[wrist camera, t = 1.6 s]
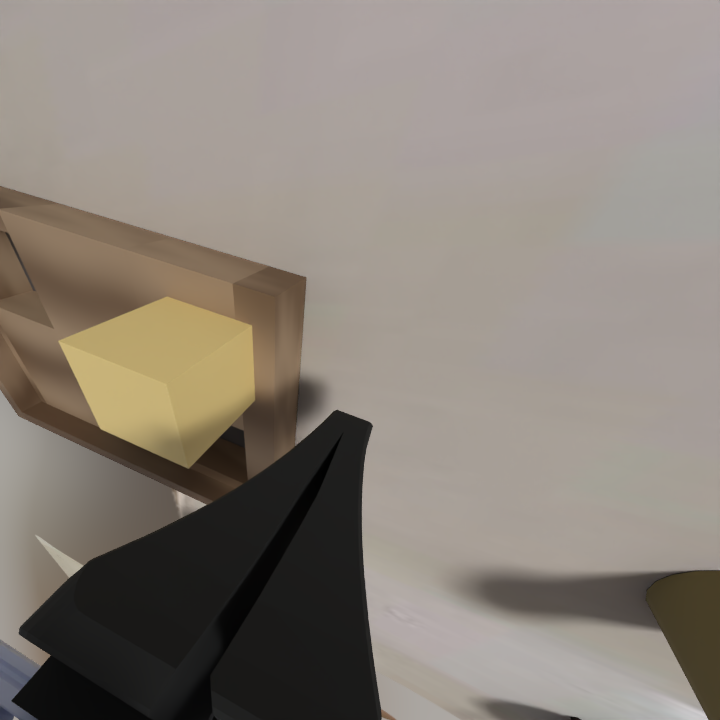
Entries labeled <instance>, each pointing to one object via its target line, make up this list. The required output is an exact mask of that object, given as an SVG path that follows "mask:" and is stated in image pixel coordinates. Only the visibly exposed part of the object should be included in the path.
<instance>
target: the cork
mask: <svg viewBox="0 0 720 720" xmlns="http://www.w3.org/2000/svg"><path fill="white" fill-rule="evenodd" d="M646 601H647V603H648V605H649V607H650V609H651V611H652V613H653V615H654V617H655V618H656V620H657V622H658V624H659V626H660V628H661V630H662V632H663V634H664V636H665V638H666V639H667V641H668V643H669V645H670V647H671V649H672V651H673V653H674V655H675V657H676V659H677V660H678V662H679V664H680V666H681V668H682V670H683V672H684V674H685V676H686V678H687V679H688V681H689V683H690V685H691V687H692V689H693V691H694V693H695V695H696V697H697V699H698V700H699V702H700V704H701V706H702V708H703V710H704V712H705V714H706V716H707V718H708V720H720V571H693V572H687V573H680V574H674V575H671V576H668V577H666V578H663V579H661V580H658V581H656V582H655V583H654V584H653V585H652V586H651V587H650V588H649V589H648V590H647V594H646Z"/></svg>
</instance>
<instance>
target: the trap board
mask: <svg viewBox="0 0 720 720" xmlns="http://www.w3.org/2000/svg"><path fill="white" fill-rule="evenodd" d="M305 290H306V277H303V276H299V275H296V274H293V273H289V272H286V271H283V270H279V269H276V268H273V267H269V266H266V265H263V264H259V263H256V262H253V261H249V260H246V259H242V258H239V257H236V256H232V255H229V254H226V253H222V252H219V251H216V250H212V249H209V248H206V247H202V246H199V245H196V244H192V243H189V242H186V241H182V240H179V239H176V238H172V237H169V236H165V235H162V234H159V233H155V232H152V231H149V230H145V229H142V228H139V227H135V226H132V225H129V224H125V223H122V222H119V221H115V220H112V219H109V218H105V217H102V216H98V215H95V214H92V213H88V212H85V211H82V210H78V209H75V208H72V207H68V206H65V205H62V204H58V203H55V202H52V201H48V200H45V199H42V198H38V197H35V196H32V195H28V194H25V193H21V192H18V191H15V190H11V189H8V188H5V187H1V186H0V390H1V391H2V393H3V394H4V395H5V397H6V398H7V400H8V401H9V403H10V404H11V406H12V407H13V409H14V410H15V412H16V413H17V414H18V416H20V417H22V418H24V419H26V420H28V421H30V422H32V423H34V424H36V425H39V426H41V427H43V428H45V429H47V430H49V431H51V432H53V433H56V434H58V435H60V436H62V437H64V438H66V439H68V440H71V441H73V442H75V443H77V444H79V445H81V446H83V447H85V448H88V449H90V450H92V451H94V452H96V453H98V454H100V455H103V456H105V457H107V458H109V459H111V460H113V461H115V462H118V463H120V464H122V465H124V466H126V467H128V468H130V469H133V470H134V471H137V472H139V473H141V474H143V475H145V476H147V477H150V478H152V479H154V480H156V481H158V482H160V483H162V484H164V485H167V486H169V487H171V488H173V489H175V490H177V491H179V492H181V493H183V494H186V495H188V496H190V497H192V498H194V499H196V500H198V501H201V502H203V503H205V504H207V505H208V504H209V503H211V502H213V501H215V500H216V499H218V498H220V497H222V496H223V495H225V494H227V493H228V492H230V491H232V490H234V489H235V488H237V487H238V486H240V485H242V484H243V483H245V482H246V481H248V480H249V479H251V478H252V477H254V476H255V475H257V474H258V473H260V472H261V471H263V470H264V469H266V468H267V467H269V466H270V465H271V464H273V463H274V462H275V461H277V460H278V459H279V458H281V457H282V456H283V455H285V454H286V453H287V452H289V451H290V450H291V449H292V448H294V447H295V435H296V420H297V406H298V391H299V377H300V362H301V348H302V333H303V319H304V304H305ZM165 297H170V298H173V299H176V300H179V301H182V302H185V303H188V304H190V305H193V306H196V307H199V308H202V309H205V310H208V311H211V312H214V313H217V314H220V315H223V316H226V317H229V318H232V319H235V320H238V321H240V322H243V323H246V324H249V325H252V336H253V360H254V384H255V401H254V402H253V403H252V404H251V405H250V406H249V407H248V408H247V409H246V410H245V411H244V412H243V413H242V414H241V415H240V417H239V418H238V419H237V420H236V421H235V422H234V423H233V424H232V425H231V426H230V427H229V428H228V429H227V430H226V431H225V432H224V433H223V434H222V435H221V436H220V437H219V438H218V439H217V440H216V441H215V442H214V443H213V444H212V445H211V446H210V447H209V448H208V449H207V450H206V451H205V453H204V454H203V455H202V456H201V457H200V458H199V459H198V460H197V461H196V462H195V463H194V464H193V465H192V466H191V467H190V468H189V469H188V468H186V467H183V466H181V465H179V464H177V463H174V462H172V461H170V460H168V459H166V458H163V457H161V456H159V455H157V454H155V453H152V452H150V451H148V450H146V449H143V448H141V447H139V446H137V445H135V444H132V443H130V442H128V441H126V440H123V439H121V438H119V437H117V436H115V435H112V434H110V433H108V432H106V431H104V430H101V429H100V427H99V425H98V423H97V421H96V419H95V417H94V415H93V412H92V410H91V408H90V406H89V404H88V402H87V400H86V398H85V396H84V394H83V392H82V389H81V387H80V385H79V383H78V381H77V379H76V377H75V375H74V373H73V371H72V369H71V367H70V364H69V362H68V360H67V358H66V356H65V354H64V352H63V350H62V348H61V346H60V344H59V342H58V341H59V340H61V339H64V338H66V337H69V336H71V335H74V334H76V333H79V332H81V331H84V330H86V329H88V328H91V327H93V326H96V325H98V324H101V323H103V322H106V321H108V320H111V319H113V318H115V317H118V316H120V315H123V314H125V313H128V312H130V311H133V310H135V309H138V308H140V307H143V306H145V305H147V304H150V303H152V302H155V301H157V300H160V299H162V298H165Z"/></svg>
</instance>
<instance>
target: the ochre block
mask: <svg viewBox="0 0 720 720" xmlns="http://www.w3.org/2000/svg"><path fill="white" fill-rule="evenodd" d="M58 342H59V344H60V346H61V348H62V350H63V352H64V354H65V356H66V358H67V360H68V362H69V364H70V367H71V369H72V371H73V373H74V375H75V377H76V379H77V381H78V383H79V385H80V387H81V389H82V392H83V394H84V396H85V398H86V400H87V402H88V404H89V406H90V408H91V410H92V412H93V415H94V417H95V419H96V421H97V423H98V425H99V427H100V429H101V430H104V431H106V432H108V433H110V434H112V435H115V436H117V437H119V438H121V439H123V440H126V441H128V442H130V443H132V444H135V445H137V446H139V447H141V448H143V449H146V450H148V451H150V452H152V453H155V454H157V455H159V456H161V457H163V458H166V459H168V460H170V461H172V462H174V463H177V464H179V465H181V466H183V467H186V468H188V469H189V468H190V467H191V466H192V465H193V464H194V463H195V462H196V461H197V460H198V459H199V458H200V457H201V456H202V455H203V454H204V453H205V451H206V450H207V449H208V448H209V447H210V446H211V445H212V444H213V443H214V442H215V441H216V440H217V439H218V438H219V437H220V436H221V435H222V434H223V433H224V432H225V431H226V430H227V429H228V428H229V427H230V426H231V425H232V424H233V423H234V422H235V421H236V420H237V419H238V418H239V417H240V415H241V414H242V413H243V412H244V411H245V410H246V409H247V408H248V407H249V406H250V405H251V404H252V403H253V402H254V401H255V384H254V360H253V336H252V325H249V324H246V323H243V322H240V321H238V320H235V319H232V318H229V317H226V316H223V315H220V314H217V313H214V312H211V311H208V310H205V309H202V308H199V307H196V306H193V305H190V304H188V303H185V302H182V301H179V300H176V299H173V298H170V297H165V298H162V299H160V300H157V301H155V302H152V303H150V304H147V305H145V306H143V307H140V308H138V309H135V310H133V311H130V312H128V313H125V314H123V315H120V316H118V317H115V318H113V319H111V320H108V321H106V322H103V323H101V324H98V325H96V326H93V327H91V328H88V329H86V330H84V331H81V332H79V333H76V334H74V335H71V336H69V337H66V338H64V339H61V340H59V341H58Z"/></svg>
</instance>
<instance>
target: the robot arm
mask: <svg viewBox="0 0 720 720" xmlns="http://www.w3.org/2000/svg"><path fill="white" fill-rule="evenodd" d="M372 427H373V426H372V424H371V423H370V422H368V421H365V420H363V419H360V418H357V417H355V416H352V415H349V414H347V413H344V412H341V411H339V410H336V411H333V413H332V414H331V415H330V416H329V417H328V418H327V419H326V420H325V421H324V422H323V423H322V424H320V425H319V426H318V427H317V428H316V429H315V430H314V431H313V432H312V433H310V434H309V435H308V436H307V437H306V438H305V439H303V440H302V441H301V442H300V443H299V444H297V445H296V446H295V447H294V448H292V449H291V450H290V451H289V452H287V453H286V454H285V455H283V456H282V457H281V458H279V459H278V460H277V461H275V462H274V463H273V464H271V465H270V466H269V467H267V468H266V469H264V470H263V471H261V472H260V473H258V474H257V475H255V476H254V477H252V478H251V479H249V480H248V481H246V482H245V483H243V484H242V485H240V486H238V487H237V488H235V489H234V490H232V491H230V492H228V493H227V494H225V495H223V496H222V497H220V498H218V499H216V500H215V501H213V502H211V503H209V504H208V505H206V506H204V507H202V508H200V509H198V510H197V511H195V512H193V513H191V514H189V515H187V516H185V517H183V518H181V519H179V520H177V521H175V522H173V523H171V524H169V525H167V526H165V527H163V528H161V529H159V530H157V531H155V532H153V533H151V534H148V535H146V536H144V537H142V538H139V539H137V540H135V541H132V542H130V543H128V544H126V545H123V546H121V547H119V548H117V549H114V550H112V551H110V552H107V553H105V554H103V555H101V556H98V557H96V558H94V559H92V560H90V561H89V562H88V563H87V564H86V565H84V566H83V567H82V568H81V569H80V570H79V571H77V572H76V573H75V574H74V575H73V576H71V577H70V578H69V579H68V580H67V581H66V582H65V583H64V584H63V585H62V586H61V587H60V588H59V589H58V590H57V591H56V592H55V593H54V594H53V595H52V596H51V597H50V598H49V599H48V600H47V601H46V602H45V603H44V604H43V605H42V606H41V607H40V608H39V609H38V610H37V611H36V612H35V613H34V614H33V615H32V616H31V617H30V618H29V619H28V620H27V621H26V622H25V623H24V624H23V625H22V626H21V627H20V629H19V634H20V635H21V636H22V637H24V638H25V639H27V640H28V641H30V642H31V643H33V644H34V645H36V646H37V647H39V648H40V649H42V650H43V651H45V652H47V653H48V654H50V655H51V656H50V657H49V658H48V659H47V661H46V662H45V663H44V664H43V665H42V666H40V665H39V664H37V663H35V662H34V661H32V660H31V659H29V658H28V657H26V656H25V655H23V654H22V653H20V652H19V651H17V650H15V649H14V648H12V647H11V646H9V645H8V644H6V643H4V642H3V641H1V640H0V720H13V718H14V716H15V717H17V718H18V719H19V720H381V707H380V701H379V693H378V687H377V681H376V674H375V666H374V659H373V652H372V644H371V636H370V628H369V620H368V610H367V600H366V589H365V578H364V565H363V548H362V484H363V471H364V461H365V454H366V448H367V445H368V441H369V437H370V434H371V430H372Z"/></svg>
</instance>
